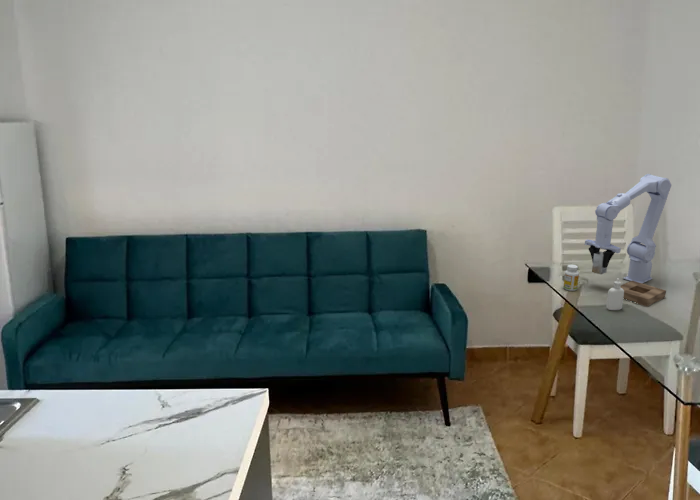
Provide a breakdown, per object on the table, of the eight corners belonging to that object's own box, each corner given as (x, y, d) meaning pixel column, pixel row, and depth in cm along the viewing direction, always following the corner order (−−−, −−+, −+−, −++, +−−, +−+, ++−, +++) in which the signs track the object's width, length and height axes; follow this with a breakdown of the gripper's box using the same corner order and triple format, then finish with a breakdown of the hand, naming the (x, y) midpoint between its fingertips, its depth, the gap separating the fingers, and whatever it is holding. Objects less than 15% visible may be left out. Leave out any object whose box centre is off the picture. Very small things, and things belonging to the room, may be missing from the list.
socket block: (631, 287, 262) (631, 280, 261) (664, 297, 251) (666, 290, 250) (612, 295, 254) (613, 288, 253) (646, 306, 243) (647, 299, 242)
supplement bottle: (575, 286, 263) (578, 264, 260) (578, 291, 258) (581, 268, 255) (562, 285, 264) (564, 263, 261) (564, 290, 259) (567, 268, 256)
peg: (597, 269, 263) (599, 251, 261) (606, 272, 260) (608, 253, 258) (591, 271, 261) (594, 253, 258) (600, 274, 258) (603, 255, 255)
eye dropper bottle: (605, 305, 245) (609, 276, 241) (621, 307, 243) (625, 277, 239) (606, 310, 241) (610, 280, 237) (622, 311, 239) (626, 281, 235)
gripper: (581, 231, 258) (578, 263, 263) (615, 239, 248) (611, 272, 252) (591, 228, 263) (588, 259, 267) (625, 236, 252) (620, 268, 256)
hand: (599, 265), depth 260 cm, fingers closed on peg, 4 cm apart
